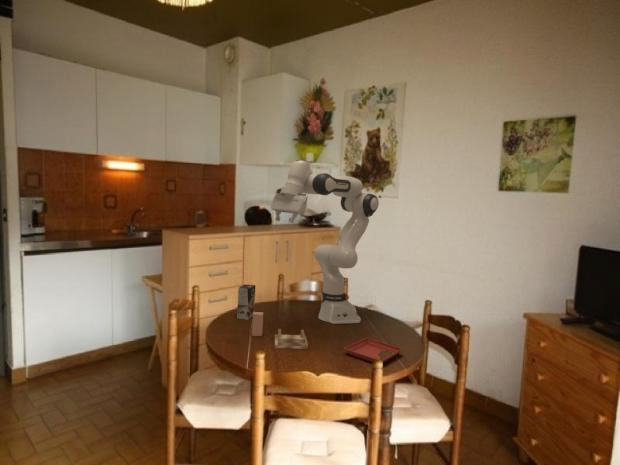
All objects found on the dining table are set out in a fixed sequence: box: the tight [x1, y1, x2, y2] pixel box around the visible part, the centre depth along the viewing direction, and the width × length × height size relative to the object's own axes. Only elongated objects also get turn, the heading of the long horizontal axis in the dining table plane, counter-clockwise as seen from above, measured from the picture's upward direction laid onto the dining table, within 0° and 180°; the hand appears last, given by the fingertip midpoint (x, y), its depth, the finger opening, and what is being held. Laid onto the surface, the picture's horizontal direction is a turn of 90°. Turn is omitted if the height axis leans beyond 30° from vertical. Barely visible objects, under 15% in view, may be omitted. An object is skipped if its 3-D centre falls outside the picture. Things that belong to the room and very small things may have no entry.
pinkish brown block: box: [251, 311, 264, 337], centre depth 186 cm, size 4×4×10 cm
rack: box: [274, 328, 309, 350], centre depth 179 cm, size 14×13×4 cm
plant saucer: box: [344, 337, 403, 363], centre depth 171 cm, size 18×18×3 cm
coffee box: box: [236, 284, 257, 321], centre depth 211 cm, size 9×6×16 cm
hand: (283, 221), depth 186 cm, fingers open, 8 cm apart
